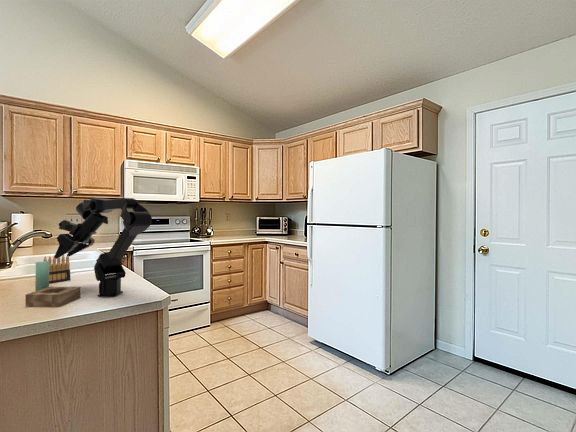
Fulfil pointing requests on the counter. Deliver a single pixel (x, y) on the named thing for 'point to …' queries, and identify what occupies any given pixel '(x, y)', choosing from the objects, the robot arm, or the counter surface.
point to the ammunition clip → (58, 270)
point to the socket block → (52, 296)
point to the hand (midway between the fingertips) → (61, 256)
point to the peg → (42, 275)
